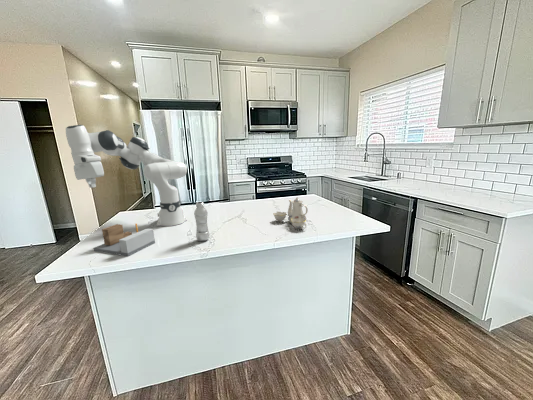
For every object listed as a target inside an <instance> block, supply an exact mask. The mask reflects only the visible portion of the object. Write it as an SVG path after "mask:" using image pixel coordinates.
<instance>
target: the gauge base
mask: <svg viewBox="0 0 533 400" xmlns="http://www.w3.org/2000/svg"><path fill="white" fill-rule="evenodd" d="M154 244H156V238H155V232H154V229H153V228H145V229H142V230H138V232H137V231H136V233H132V235H130V236H127V237H125V238H122V239H120V240H119V242H118V243H115V244H113V245H111V246H110V245H105V244H104V243H103V244H100V245H98V246H95V247H93V251H94V252H99V253H105V254H112V255H119V256H124V257H131V256H132V255H135V254H136V253H138V252H140V251H142V250H144V249H146V248H147V247H150V246H152V245H154Z"/></svg>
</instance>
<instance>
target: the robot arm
mask: <svg viewBox="0 0 533 400" xmlns="http://www.w3.org/2000/svg"><path fill="white" fill-rule="evenodd" d="M65 137H66V141H67V144H68V146H69V148H70V151H71V152H70V153H71V156H72V157H71V158H72V160H73V162H74V165H73V170H74V171H73V172H74V176H75V179H76V180H85V182H86V183H87V184H88V187H89V188H91V189H92V188H96V187H97V184H96V183H97V181H96V180H97V179H96V178H100V177H105V170H104V167H103V164H102V162H101V161H102V157H101V156H100V155H97V154H95V153H100V152H103V153H104V154H105V155H108V156H114V157H115V156H116V157H118V156H119V157H118V160H120V163H121V164H122V166H123V167H125V168H126V169H129V170H137V169H138V168H139V166H140V164H141V163H142V164H143V165H144V168H143V175H144V177H145V179H146V180H147V181H149V182H151V183H152V184H154V187H156V189H157V191H158V194H159V195H158V196H159V200H160V201H159V207H160V210H159V212H157V214H156V215H157V222H156V226H157V227H159V226H160V227H161V226H164V227H171V226H172V227H173V226H178V225H180V224H183V223H184V222H187V221H188V218H187V217H185V212H184V208H183V207H182V206H181V201H180V196H179V189H178V187H176V186H174V185H172V184H170V183H169V180H178V179H182V178H184V177H186V175H187V173H188V171H187V170H188V168H187V166H186V164H185V163H184V162H182V161H176V160H172V159H168V158H164V157H161V156H159V154H156V153H153V152H151V151H149V150H150V147H149V144H148V143H147V141H146V140H145V139H143V138H141V137H138V136H133V137H131V138H130V140H129V143H128V144H127V143H126V142H124V140H123V139H122V138H121V137H119V136H118V135H117V134H115V133H114V132H113V131H111V130H109V129H107V130H102V131H97V132H88V130H87V128H86V126H85V125H83V124H77V125H76V124H75V125H68V126H66V127H65Z"/></svg>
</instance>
